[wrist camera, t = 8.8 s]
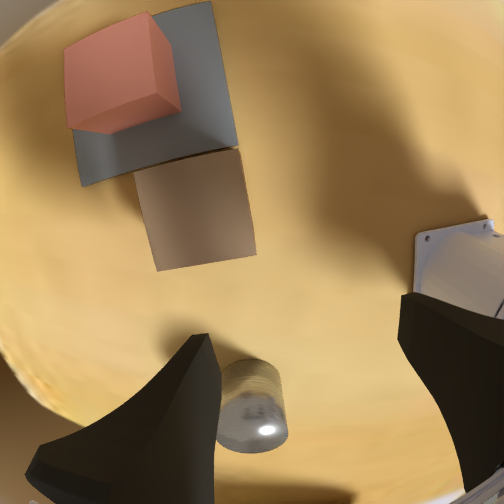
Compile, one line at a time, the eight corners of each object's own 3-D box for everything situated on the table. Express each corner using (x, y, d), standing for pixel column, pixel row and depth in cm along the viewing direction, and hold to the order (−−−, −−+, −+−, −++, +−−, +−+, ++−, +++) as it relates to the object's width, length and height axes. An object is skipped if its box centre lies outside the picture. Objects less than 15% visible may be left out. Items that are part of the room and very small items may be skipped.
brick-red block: (171, 45, 14) (147, 11, 9) (181, 111, 15) (156, 92, 10) (103, 70, 14) (64, 48, 9) (110, 134, 15) (67, 128, 10)
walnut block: (240, 153, 17) (237, 148, 12) (254, 230, 18) (256, 255, 13) (163, 169, 17) (133, 172, 12) (179, 244, 18) (157, 271, 13)
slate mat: (211, 4, 13) (210, 0, 12) (238, 145, 16) (238, 144, 16) (72, 54, 13) (68, 52, 13) (85, 186, 17) (81, 187, 16)
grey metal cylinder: (276, 354, 21) (284, 411, 15) (283, 395, 22) (291, 448, 17) (214, 363, 21) (206, 419, 15) (228, 402, 23) (225, 455, 17)
